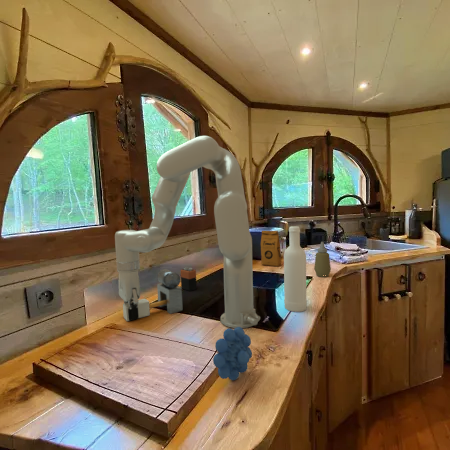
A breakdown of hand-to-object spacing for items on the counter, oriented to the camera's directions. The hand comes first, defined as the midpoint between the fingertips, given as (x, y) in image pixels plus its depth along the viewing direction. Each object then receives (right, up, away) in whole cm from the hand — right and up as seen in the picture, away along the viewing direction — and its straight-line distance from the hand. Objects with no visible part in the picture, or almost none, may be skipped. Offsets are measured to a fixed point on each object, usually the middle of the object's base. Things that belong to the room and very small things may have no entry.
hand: (131, 316), depth 93 cm
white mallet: (+6, 0, +5) cm, 8 cm away
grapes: (+36, -2, -35) cm, 50 cm away
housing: (+12, 0, +9) cm, 15 cm away
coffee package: (+62, +7, +75) cm, 97 cm away
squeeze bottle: (+84, +5, +46) cm, 96 cm away
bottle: (+59, +1, +5) cm, 59 cm away
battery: (+16, +2, +32) cm, 35 cm away
